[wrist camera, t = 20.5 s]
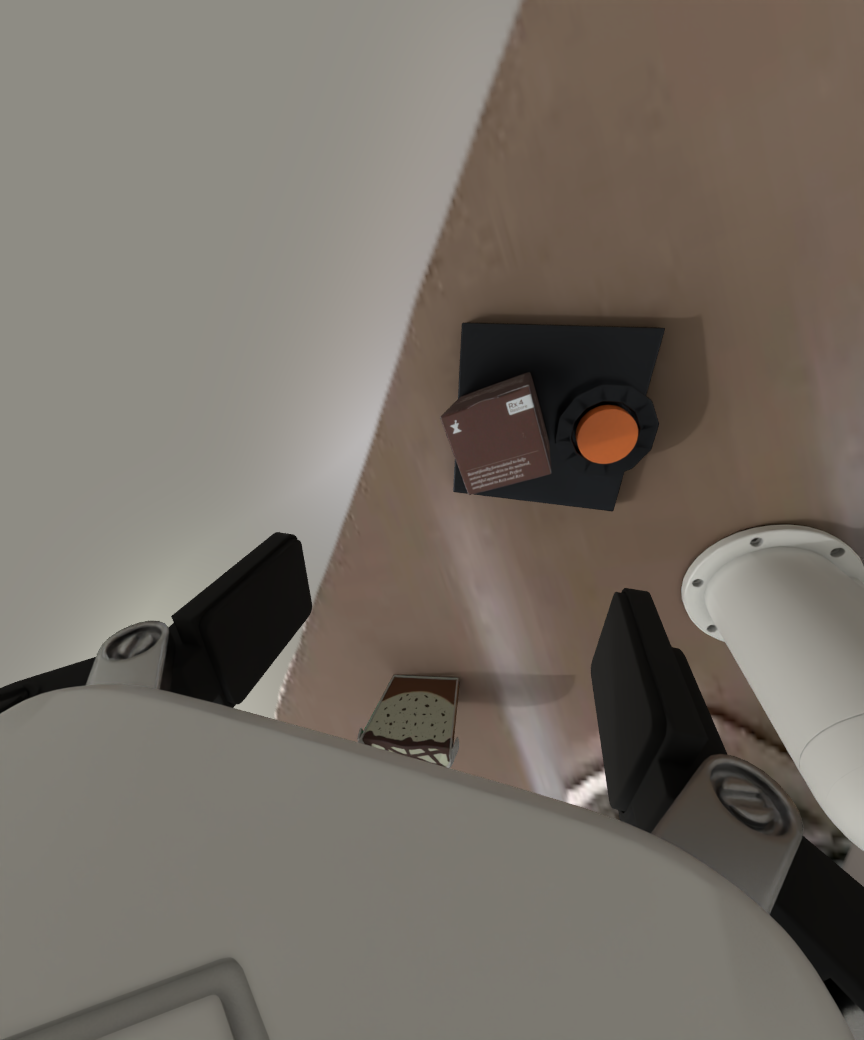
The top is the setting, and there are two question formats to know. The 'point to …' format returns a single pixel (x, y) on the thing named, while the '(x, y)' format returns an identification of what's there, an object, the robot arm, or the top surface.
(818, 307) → the top surface
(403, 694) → the food container
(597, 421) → the button
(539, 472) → the box
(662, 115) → the top surface
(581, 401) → the scale
